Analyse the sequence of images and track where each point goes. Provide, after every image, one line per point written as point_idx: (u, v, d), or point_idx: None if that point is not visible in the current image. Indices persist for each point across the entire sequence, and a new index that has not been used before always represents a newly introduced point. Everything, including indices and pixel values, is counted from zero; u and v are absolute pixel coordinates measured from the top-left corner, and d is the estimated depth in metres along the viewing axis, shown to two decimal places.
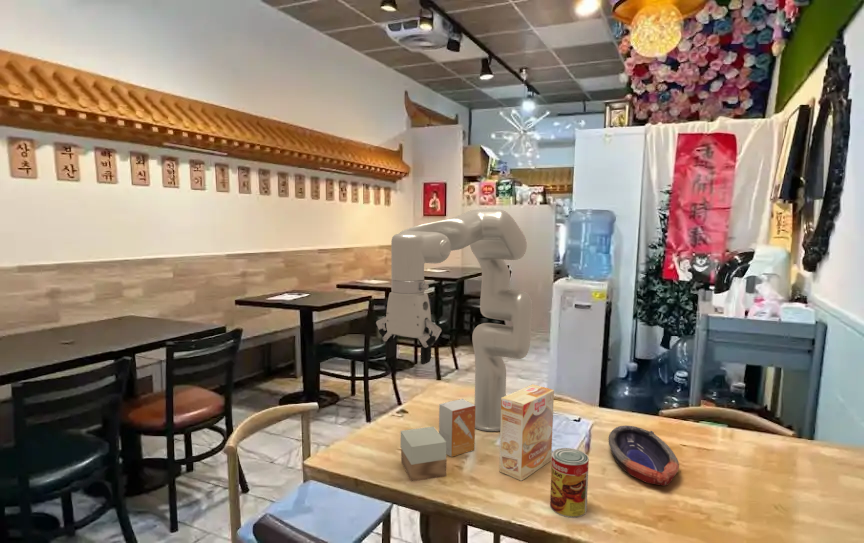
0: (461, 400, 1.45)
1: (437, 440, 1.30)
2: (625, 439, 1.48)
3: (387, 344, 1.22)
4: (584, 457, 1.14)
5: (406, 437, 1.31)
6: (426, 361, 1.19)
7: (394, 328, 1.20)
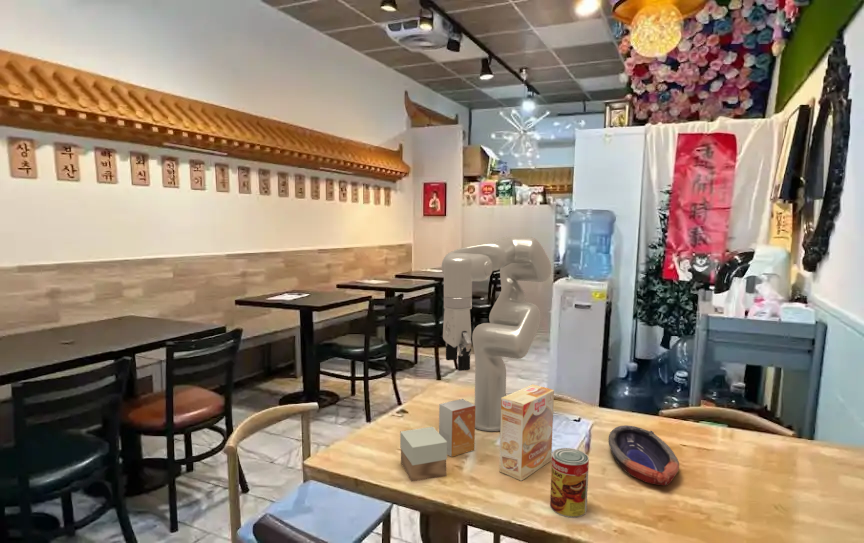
0: (461, 400, 1.45)
1: (438, 440, 1.29)
2: (625, 439, 1.48)
3: None
4: (584, 458, 1.14)
5: (406, 438, 1.31)
6: None
7: None
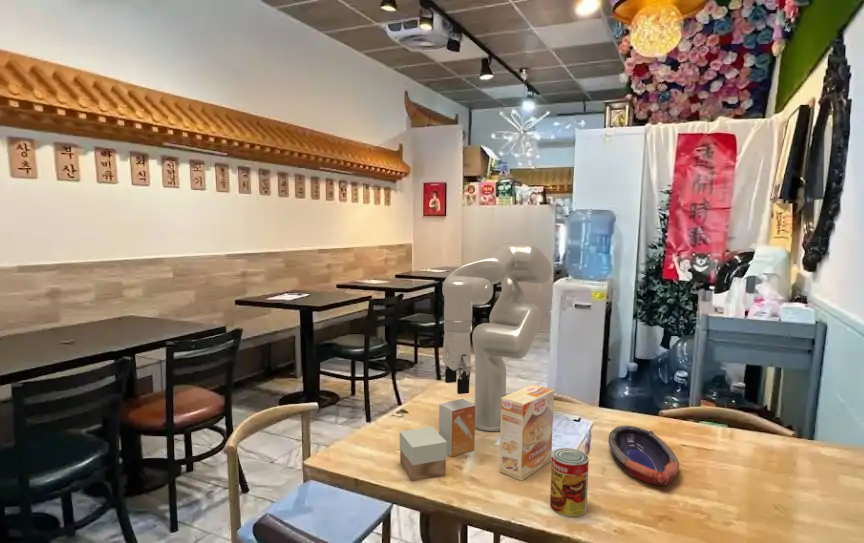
0: (461, 400, 1.45)
1: (437, 440, 1.30)
2: (625, 439, 1.48)
3: None
4: (584, 457, 1.14)
5: (406, 438, 1.31)
6: None
7: None
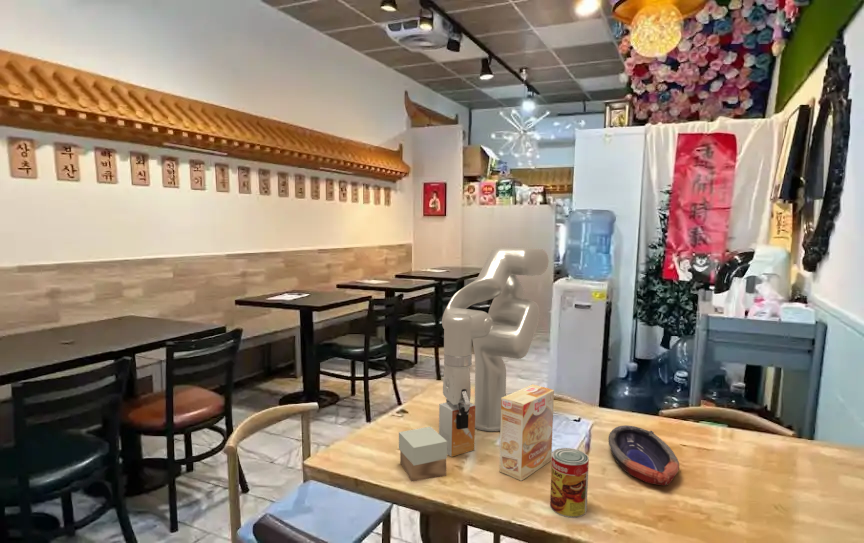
0: None
1: (438, 440, 1.30)
2: (625, 439, 1.48)
3: None
4: (584, 458, 1.14)
5: (406, 438, 1.31)
6: None
7: None
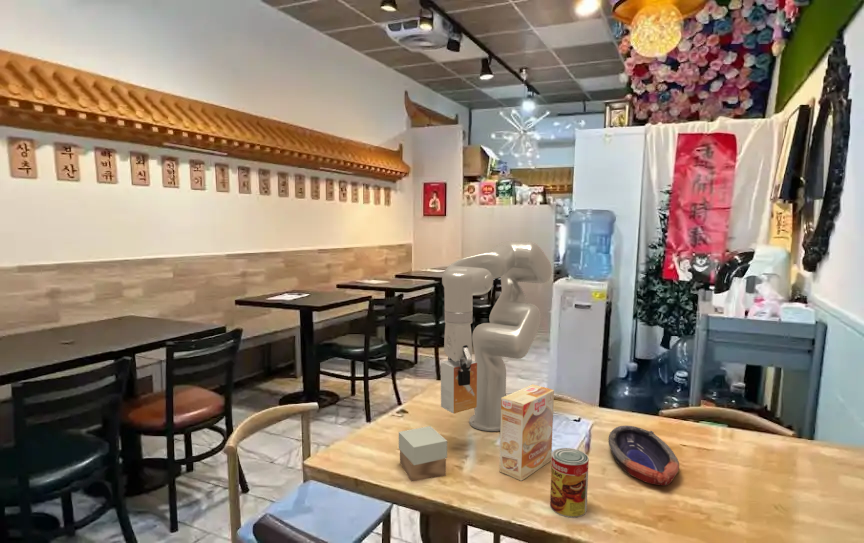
0: (462, 358, 1.45)
1: (438, 439, 1.30)
2: (625, 439, 1.48)
3: None
4: (584, 457, 1.14)
5: (406, 438, 1.31)
6: None
7: None
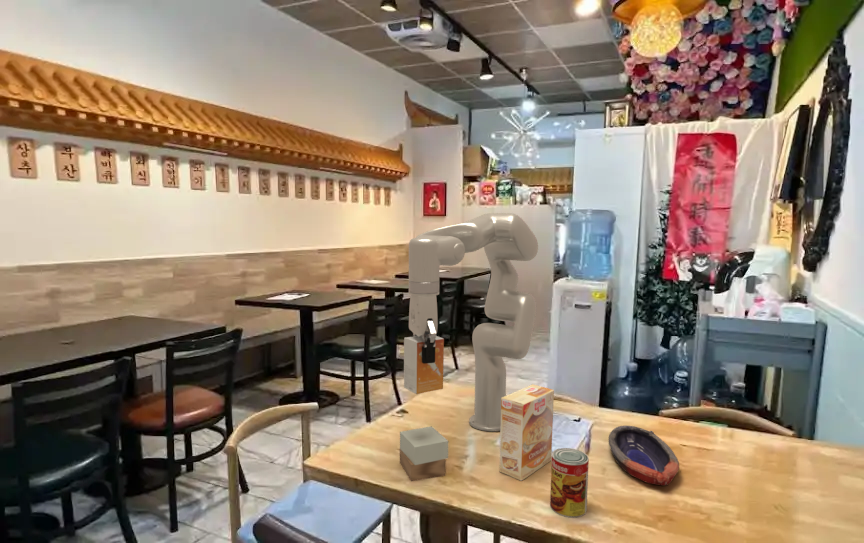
0: None
1: (439, 439, 1.30)
2: (625, 439, 1.48)
3: None
4: (584, 457, 1.14)
5: (407, 438, 1.31)
6: None
7: None
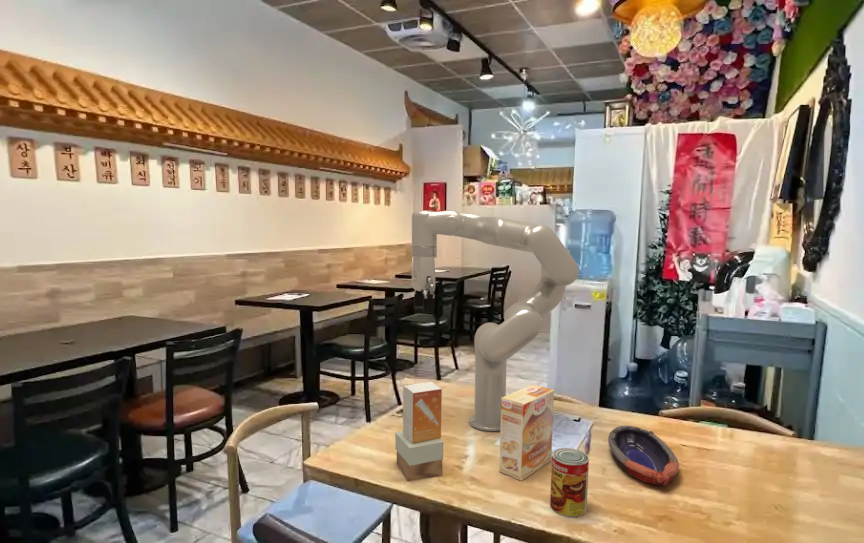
0: (428, 383, 1.33)
1: (434, 440, 1.30)
2: (625, 439, 1.48)
3: None
4: (584, 458, 1.14)
5: (402, 438, 1.31)
6: None
7: None
